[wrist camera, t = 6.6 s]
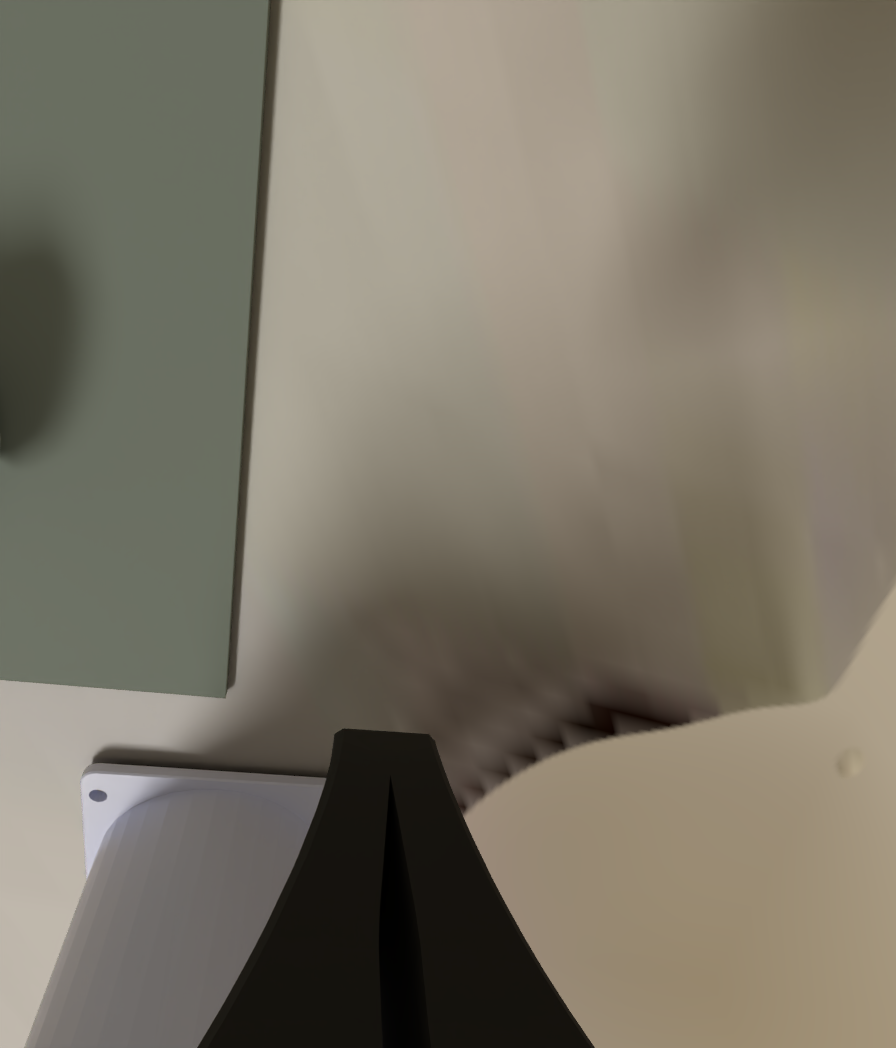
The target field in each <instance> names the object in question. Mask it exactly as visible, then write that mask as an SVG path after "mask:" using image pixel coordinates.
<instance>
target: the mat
mask: <svg viewBox="0 0 896 1048" xmlns="http://www.w3.org/2000/svg"><path fill="white" fill-rule="evenodd" d="M270 3H271V0H0V437H1V443H0V680H8V681H20V682H33V683H45V684H57V685H69V686H82V687H94V688H106V689H118V690H130V691H143V692H155V693H167V694H179V695H192V696H204V697H216V698H226V694H227V686H228V670H229V654H230V638H231V623H232V607H233V591H234V575H235V559H236V543H237V527H238V511H239V495H240V480H241V464H242V448H243V432H244V416H245V400H246V384H247V368H248V352H249V337H250V321H251V305H252V289H253V273H254V257H255V241H256V225H257V209H258V194H259V178H260V162H261V146H262V130H263V114H264V98H265V82H266V66H267V51H268V35H269V19H270Z"/></svg>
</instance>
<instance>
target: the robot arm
mask: <svg viewBox="0 0 896 1048" xmlns="http://www.w3.org/2000/svg"><path fill="white" fill-rule="evenodd" d="M80 785H81V801H82V817H83V833H84V850H85V866H86V883H85V886H84V889H83V891H82V894H81V897H80V899H79V902H78V905H77V907H76V910H75V913H74V915H73V918H72V921H71V924H70V926H69V929H68V932H67V934H66V937H65V940H64V942H63V945H62V948H61V950H60V953H59V956H58V958H57V961H56V964H55V966H54V969H53V972H52V974H51V977H50V980H49V983H48V985H47V988H46V991H45V993H44V996H43V999H42V1001H41V1004H40V1007H39V1009H38V1012H37V1015H36V1017H35V1020H34V1023H33V1025H32V1028H31V1031H30V1033H29V1036H28V1039H27V1042H26V1044H25V1047H24V1048H594V1046H593V1044H592V1043H591V1041H590V1040H589V1039H588V1037H587V1036H586V1034H585V1033H584V1031H583V1030H582V1028H581V1027H580V1025H579V1024H578V1022H577V1021H576V1019H575V1018H574V1017H573V1015H572V1014H571V1012H570V1011H569V1009H568V1008H567V1006H566V1004H565V1003H564V1001H563V1000H562V998H561V997H560V995H559V994H558V992H557V991H556V989H555V988H554V986H553V984H552V983H551V981H550V980H549V978H548V976H547V975H546V973H545V972H544V970H543V968H542V967H541V965H540V963H539V962H538V960H537V958H536V957H535V955H534V953H533V952H532V950H531V948H530V946H529V945H528V943H527V942H526V940H525V938H524V936H523V934H522V933H521V931H520V929H519V927H518V925H517V924H516V922H515V920H514V918H513V917H512V915H511V913H510V911H509V909H508V907H507V905H506V904H505V902H504V900H503V898H502V896H501V894H500V892H499V890H498V888H497V887H496V885H495V883H494V881H493V879H492V877H491V875H490V873H489V871H488V869H487V867H486V864H485V862H484V860H483V858H482V856H481V854H480V852H479V850H478V848H477V846H476V844H475V842H474V840H473V838H472V835H471V833H470V831H469V829H468V827H467V824H466V822H465V820H464V818H463V815H462V813H461V811H460V808H459V806H458V803H457V801H456V799H455V796H454V794H453V791H452V789H451V786H450V784H449V781H448V779H447V776H446V773H445V771H444V768H443V765H442V762H441V759H440V756H439V753H438V750H437V747H436V744H435V741H434V740H433V739H432V737H431V736H430V735H429V734H417V733H402V732H387V731H372V730H357V729H342V730H341V731H339V732H337V733H336V734H335V735H334V742H333V749H332V757H331V762H330V767H329V771H328V774H327V778H319V777H304V776H289V775H273V774H258V773H243V772H228V771H213V770H198V769H183V768H168V767H153V766H138V765H123V764H108V763H95V764H92V765H89V766H88V767H87V768H86V769H85V770H84V772H83V775H82V777H81V781H80ZM98 790H102V791H98Z"/></svg>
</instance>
